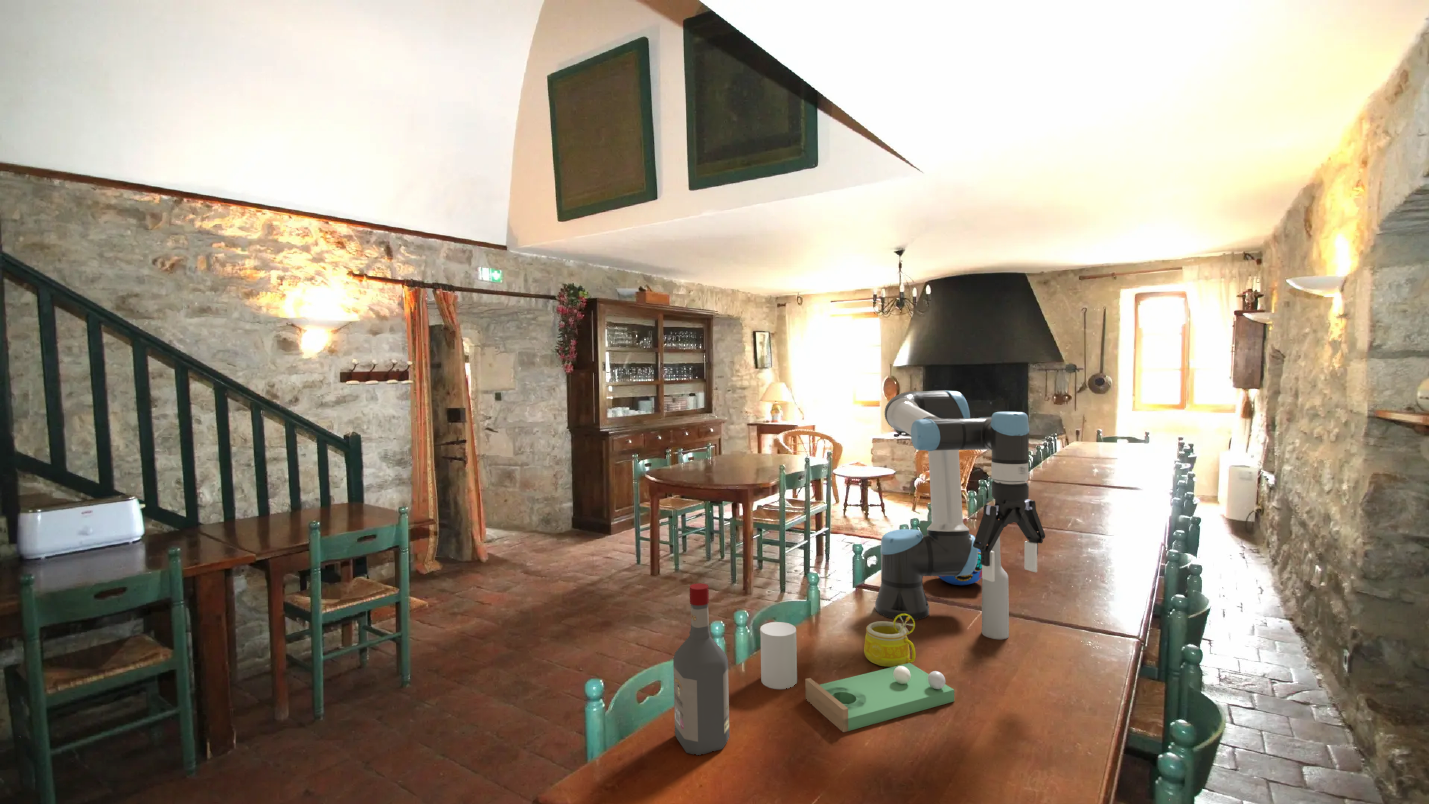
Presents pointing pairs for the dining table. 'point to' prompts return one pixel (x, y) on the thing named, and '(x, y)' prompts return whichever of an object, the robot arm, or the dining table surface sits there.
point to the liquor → (701, 683)
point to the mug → (889, 643)
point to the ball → (902, 675)
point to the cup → (778, 655)
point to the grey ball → (936, 680)
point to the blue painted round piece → (966, 579)
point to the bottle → (996, 601)
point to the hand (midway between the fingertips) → (1010, 575)
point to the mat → (874, 697)
